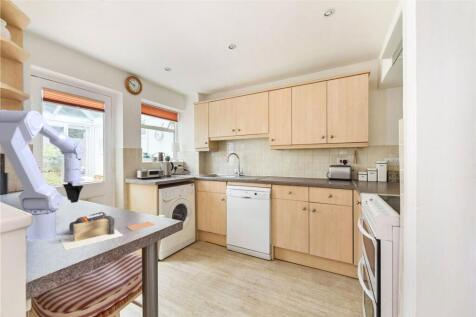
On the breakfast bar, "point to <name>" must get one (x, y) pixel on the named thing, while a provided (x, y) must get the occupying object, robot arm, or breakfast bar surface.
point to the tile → (140, 225)
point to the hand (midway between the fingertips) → (72, 201)
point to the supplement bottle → (88, 219)
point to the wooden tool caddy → (93, 228)
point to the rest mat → (87, 240)
